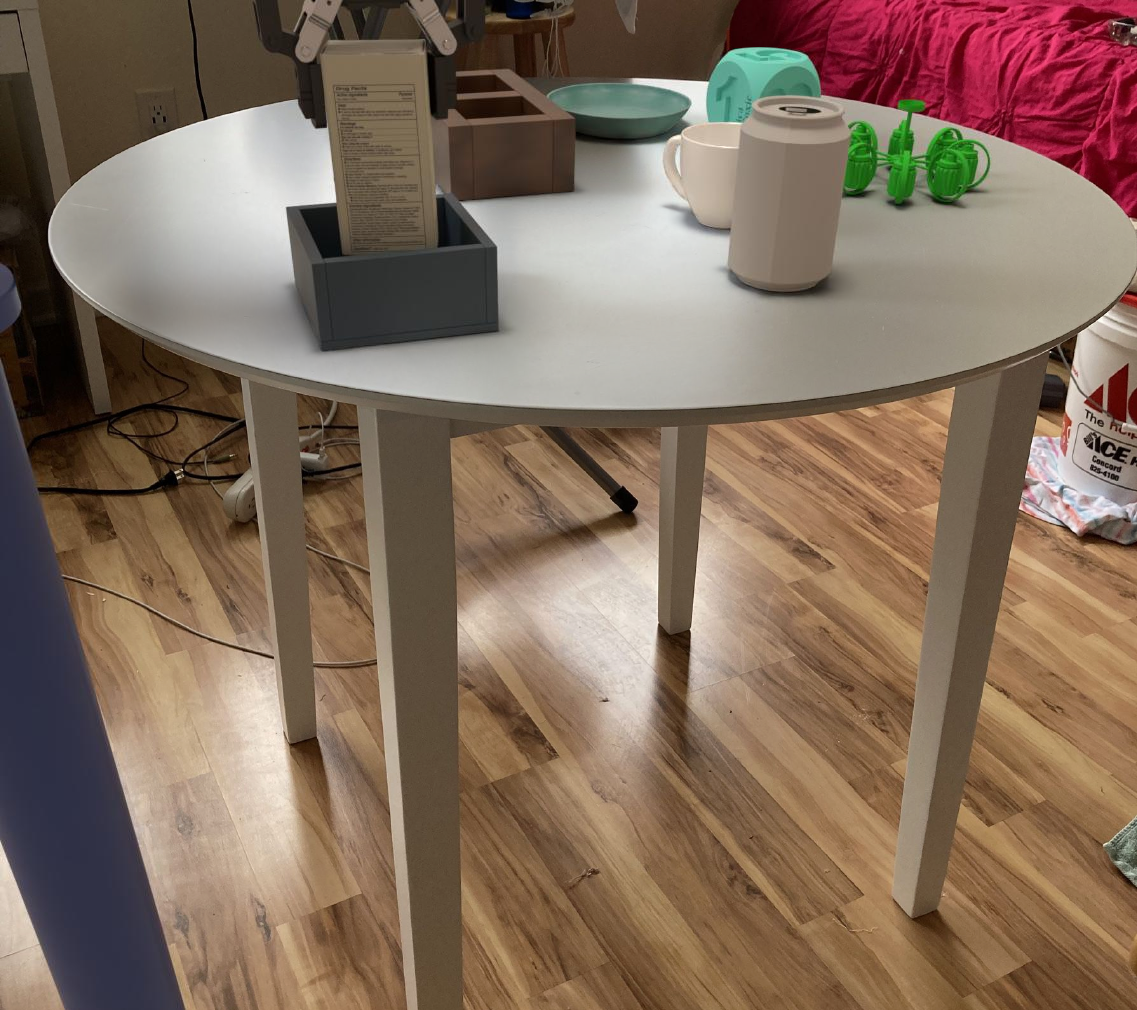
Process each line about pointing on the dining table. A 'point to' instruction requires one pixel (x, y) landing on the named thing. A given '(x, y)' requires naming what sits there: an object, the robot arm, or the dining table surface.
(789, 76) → the decorative dice
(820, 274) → the can
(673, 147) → the cup
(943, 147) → the chandelier
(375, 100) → the cosmetic box
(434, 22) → the robot arm
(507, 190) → the box
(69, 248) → the dining table surface
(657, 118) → the saucer
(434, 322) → the open box
